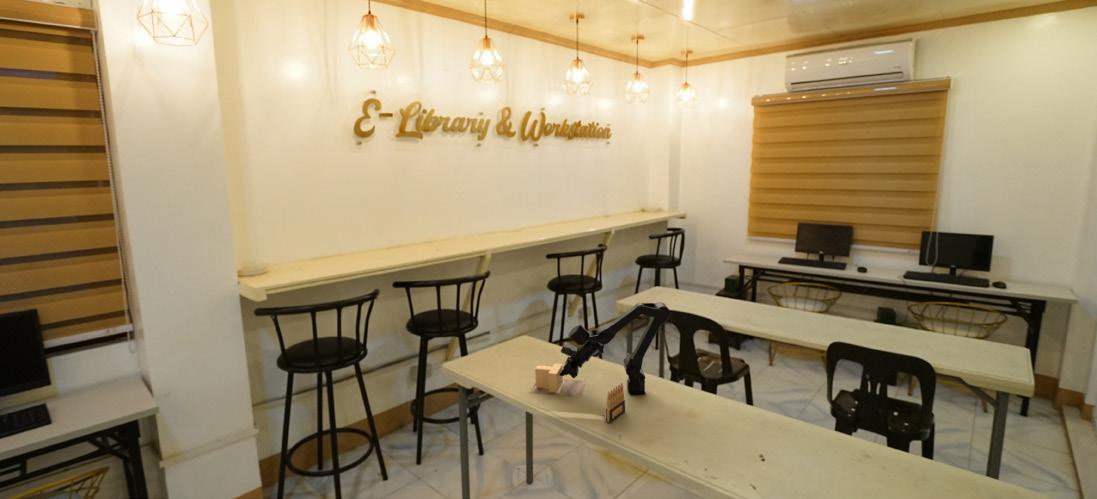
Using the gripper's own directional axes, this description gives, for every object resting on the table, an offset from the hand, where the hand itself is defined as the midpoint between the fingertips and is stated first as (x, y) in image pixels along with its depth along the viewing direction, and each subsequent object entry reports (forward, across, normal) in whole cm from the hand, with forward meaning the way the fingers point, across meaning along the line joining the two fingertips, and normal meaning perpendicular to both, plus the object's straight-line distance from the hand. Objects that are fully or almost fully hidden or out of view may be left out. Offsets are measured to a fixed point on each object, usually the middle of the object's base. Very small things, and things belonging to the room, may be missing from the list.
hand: (560, 375), depth 215 cm
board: (+5, 0, +4) cm, 7 cm away
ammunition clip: (-12, +18, +22) cm, 31 cm away
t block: (+7, 0, 0) cm, 7 cm away
